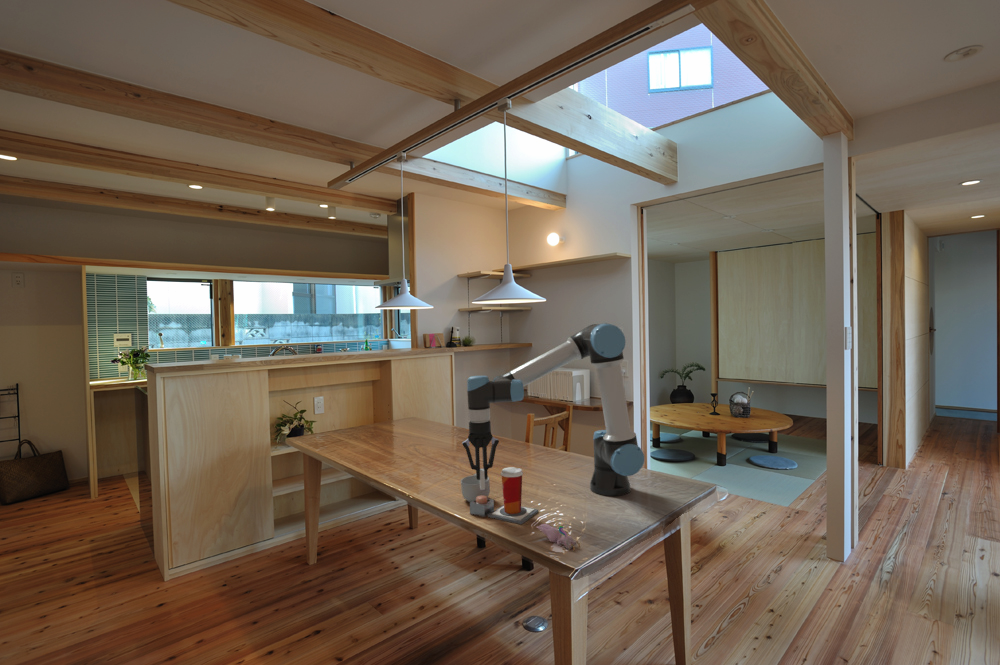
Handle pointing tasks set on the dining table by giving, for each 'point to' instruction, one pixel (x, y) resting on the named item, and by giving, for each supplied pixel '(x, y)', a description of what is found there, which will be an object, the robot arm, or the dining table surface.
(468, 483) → the teacup
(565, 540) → the pink unicorn toy
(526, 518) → the board
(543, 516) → the dining table surface
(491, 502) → the button housing
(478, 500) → the button
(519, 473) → the paper cup
